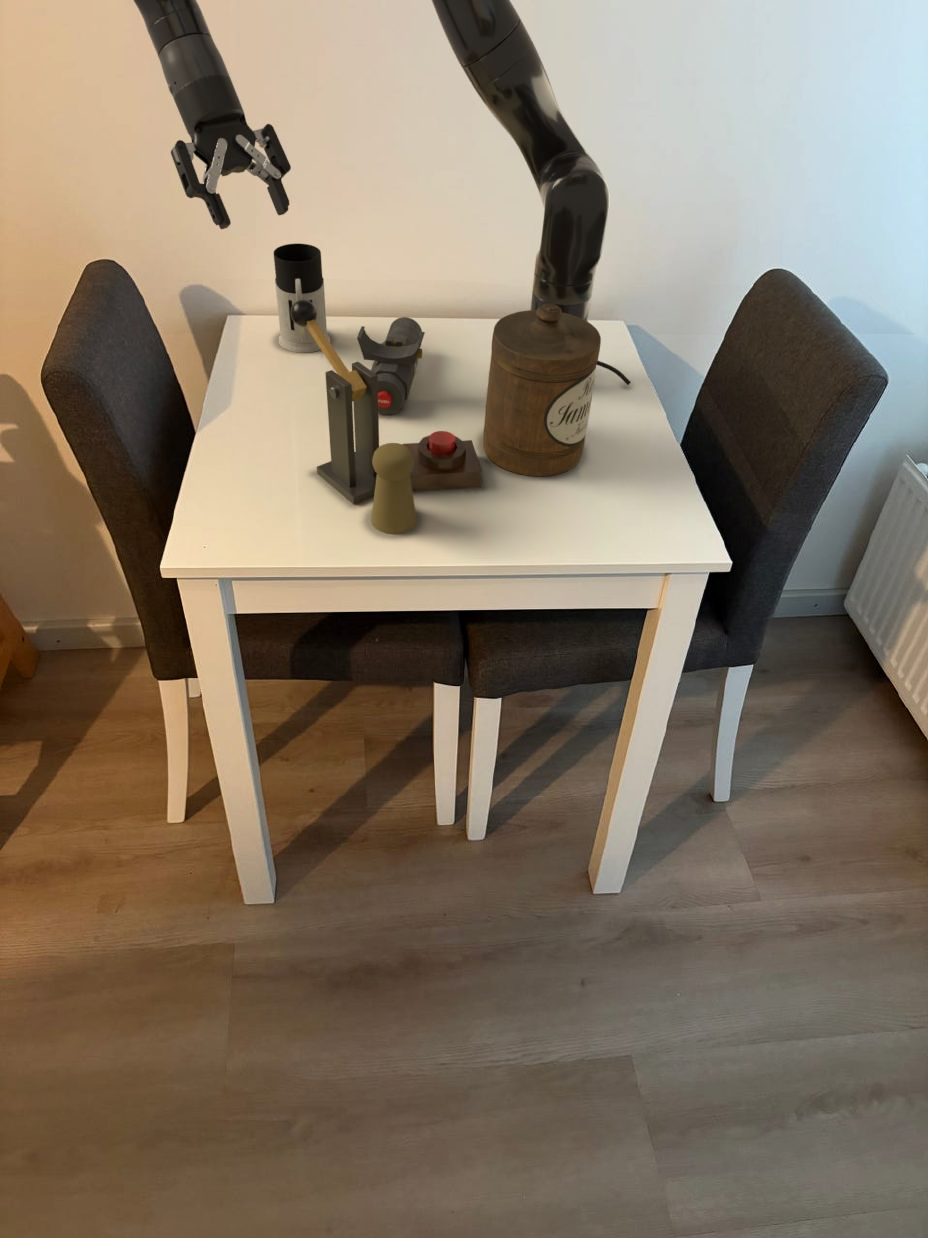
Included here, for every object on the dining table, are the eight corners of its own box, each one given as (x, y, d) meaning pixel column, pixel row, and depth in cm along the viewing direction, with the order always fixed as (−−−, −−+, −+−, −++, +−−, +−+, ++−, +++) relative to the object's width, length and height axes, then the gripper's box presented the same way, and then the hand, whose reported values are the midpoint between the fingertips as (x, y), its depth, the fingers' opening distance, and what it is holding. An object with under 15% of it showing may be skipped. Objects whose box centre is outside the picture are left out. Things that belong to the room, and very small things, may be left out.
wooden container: (571, 486, 125) (594, 339, 110) (470, 464, 128) (479, 318, 112) (591, 433, 135) (615, 292, 120) (497, 414, 138) (509, 273, 123)
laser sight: (434, 352, 151) (435, 295, 145) (415, 422, 135) (416, 361, 128) (377, 347, 152) (376, 290, 145) (352, 415, 136) (349, 355, 129)
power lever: (283, 315, 116) (288, 297, 113) (305, 308, 118) (310, 290, 115) (343, 406, 114) (349, 390, 111) (365, 398, 116) (372, 383, 113)
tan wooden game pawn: (370, 506, 119) (368, 436, 112) (415, 506, 120) (416, 435, 112) (371, 534, 115) (368, 463, 107) (417, 534, 115) (418, 462, 108)
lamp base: (470, 455, 129) (472, 428, 126) (480, 487, 124) (482, 460, 121) (402, 459, 128) (402, 432, 125) (409, 492, 122) (409, 464, 119)
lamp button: (452, 440, 124) (453, 430, 123) (456, 455, 122) (457, 444, 121) (427, 442, 124) (427, 431, 123) (430, 456, 121) (431, 445, 120)
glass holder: (329, 328, 156) (324, 241, 146) (331, 367, 146) (326, 277, 136) (278, 328, 155) (269, 241, 145) (277, 368, 145) (267, 278, 135)
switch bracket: (317, 473, 124) (308, 366, 113) (358, 457, 128) (354, 351, 116) (353, 505, 119) (348, 396, 108) (395, 487, 123) (395, 380, 112)
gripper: (156, 80, 104) (216, 221, 108) (262, 64, 111) (314, 197, 115) (140, 109, 110) (197, 242, 114) (241, 93, 117) (291, 218, 121)
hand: (255, 219), depth 114 cm, fingers open, 8 cm apart
